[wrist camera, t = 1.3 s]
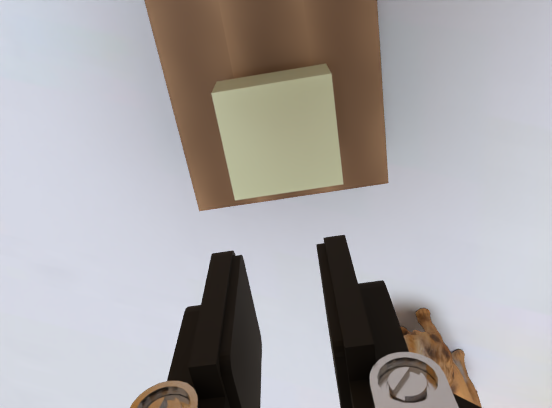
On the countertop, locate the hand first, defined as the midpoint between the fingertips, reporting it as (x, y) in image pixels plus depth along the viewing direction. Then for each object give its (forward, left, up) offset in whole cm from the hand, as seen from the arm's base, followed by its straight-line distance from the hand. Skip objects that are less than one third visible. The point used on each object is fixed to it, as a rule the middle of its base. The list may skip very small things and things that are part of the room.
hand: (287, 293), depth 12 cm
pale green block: (0, 0, -19) cm, 19 cm away
